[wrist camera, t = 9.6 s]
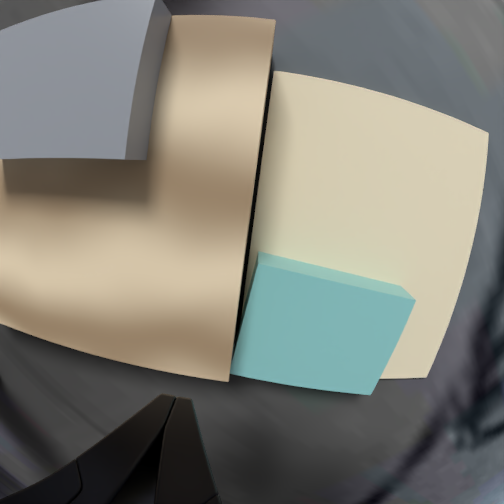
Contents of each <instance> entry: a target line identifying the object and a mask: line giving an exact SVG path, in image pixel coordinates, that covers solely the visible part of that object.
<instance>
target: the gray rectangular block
mask: <svg viewBox="0 0 504 504" xmlns="http://www.w3.org/2000/svg"><path fill="white" fill-rule="evenodd" d="M171 17H172V15H171V13H170V12H169V10H168V9H167V7H166V5H165V4H164V2H163V1H162V0H101V1H96V2H91V3H86V4H82V5H78V6H73V7H70V8H66V9H62V10H58V11H55V12H51V13H48V14H45V15H42V16H39V17H36V18H33V19H30V20H27V21H24V22H21V23H19V24H16V25H13V26H11V27H8V28H6V29H3V30H1V31H0V159H19V158H97V159H124V160H147V152H148V143H149V135H150V128H151V120H152V113H153V107H154V100H155V94H156V88H157V83H158V77H159V72H160V67H161V62H162V57H163V52H164V47H165V42H166V38H167V34H168V29H169V25H170V21H171Z"/></svg>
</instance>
